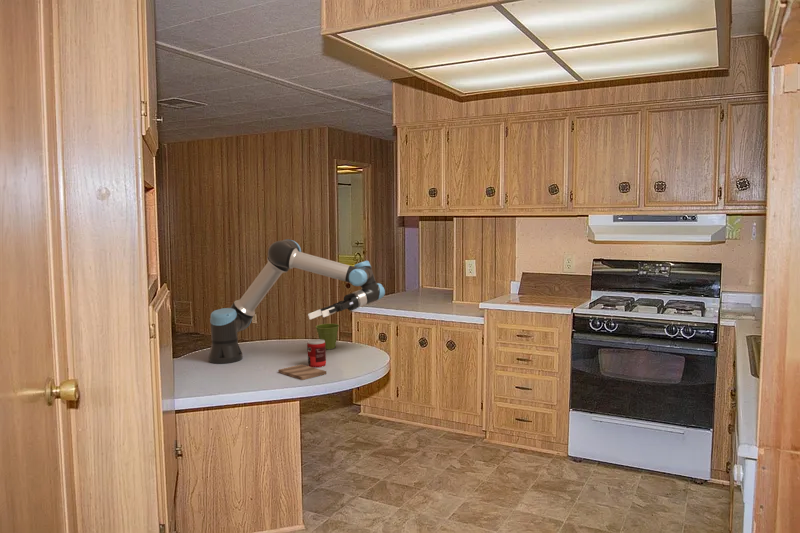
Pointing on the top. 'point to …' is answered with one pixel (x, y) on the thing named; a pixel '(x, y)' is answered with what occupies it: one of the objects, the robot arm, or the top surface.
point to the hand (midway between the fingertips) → (315, 315)
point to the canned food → (316, 353)
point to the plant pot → (328, 334)
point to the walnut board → (302, 372)
